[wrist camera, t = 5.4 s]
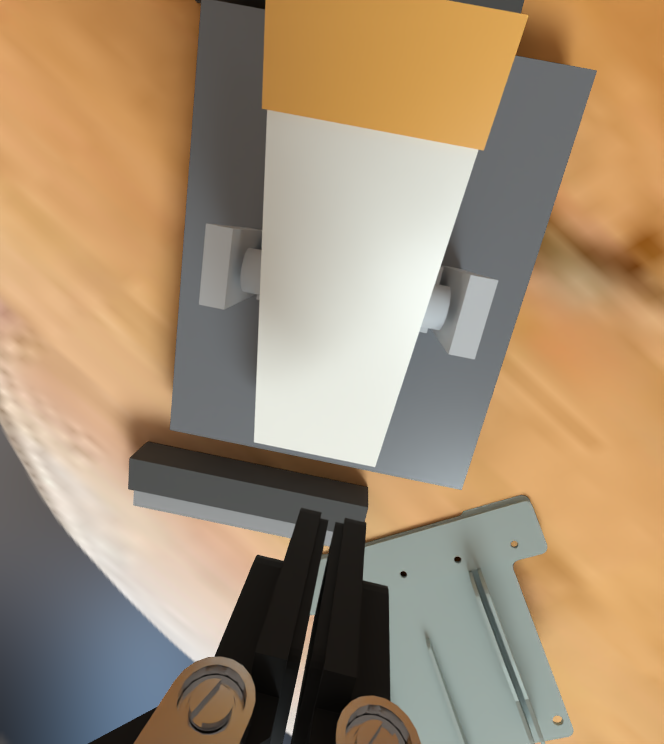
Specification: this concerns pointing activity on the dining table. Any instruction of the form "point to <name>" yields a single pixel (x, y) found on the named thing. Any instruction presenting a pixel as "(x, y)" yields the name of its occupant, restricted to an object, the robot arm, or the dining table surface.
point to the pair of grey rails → (248, 464)
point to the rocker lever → (362, 202)
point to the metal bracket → (466, 628)
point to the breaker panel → (471, 244)
